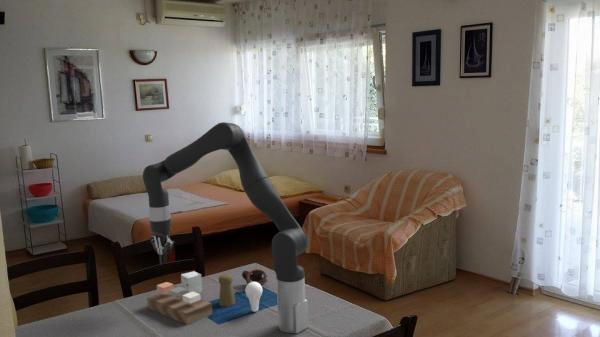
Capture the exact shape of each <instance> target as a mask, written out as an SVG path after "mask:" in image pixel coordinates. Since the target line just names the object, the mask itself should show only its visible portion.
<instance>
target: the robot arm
mask: <svg viewBox="0 0 600 337" xmlns="http://www.w3.org/2000/svg"><path fill="white" fill-rule="evenodd" d="M243 130H244V129H242V128H241V126H239V125H238V124H236V123H233V122H231V123H230V122H225V121H222V122H219V123H217V124H215V125H214V126H213V127H211V128H210V129H209V130H208V131H206V132H205V133H204V134H202V135H201V136H199V138H197V139H196V140H194V141H192V142H191V143H190V144H188V145H186V146H184V147H183V148H181V149H178V150H177V151H175V152H173V153H171V154H169V155H168V156H167V157H165V159H163V160H162V161H160V162H157V163H152V164H149V165H147V166H145V168H144V169H143V173H142V181H143V184H144V187H145V190H146V193H147V195H148V206H149V208H148V217H149V218H148V219H149V229H150V232H151V233H152V236H150V237H149V241H150V243H151V245H152V247H153V249H154V251H155V252H157V254H158V256H159V260H158V261H159V264H160V265H165V264H167V263H168V254H169V253H171V251H172V249H173V247H174V245H175V241H174V240H171V235H170V231H171V230H172V219H171V218H172V217H171V216H172V215H171V209H170V200H169V197H170V196H169V192H168V190H167V189H164V188H163V185H162V183H163V182H165V181H168V180H169V179H171V178H173V177H175V176H176V175H177V174H179V173H181V172H184V171H186V170H188V169H189V168H191V167H192V166H194V165H195V164H197V162H199V160H201V159H202V158H203V157H205V156H206V155H209V154H211V153H213V152H216V151H219V150H224V151H225V150H226V151H227V152H229V153H230V155H231V156H232V158H233V160H234V162H235V163H236V165H237V168H238V174H239V180H240V184H241V186H242V189H243V191H244V193H245V194H246V195H247V198H248V199H249V201H250V203H251V204H252V205H253V207H255V208H256V209H257V210H259V211H260V212H261V213H263V214H264V215H266V216H267V217H268V218H269V219H270V220H271V221H272V223H274V225H275V226H276V228H277V229H278V231H279V232H277V233H276V234H275V235H274V236H273V238H272V240H271V255H272V264H273V266H272V267H273V270H274V272H275V276H276V296H277V300H276V301H277V319H278V329H279V330H280V331H282V332H283V333H288V334H295V335H297V334H299V333H301V332H303V331H304V330H306V329H308V328H309V300H308V299H306V286H305V269H304V267H303V266H300V265H298V260H297V256H299V255H301V254H303V253H304V252H305V251H306V250H307V248H308V246H309V245H308V244H309V240H308V236H307V234H306V233H305V231H304V229H303V228H302V227H301V226H300V223H299V222H297V220H296V218H295V217H294V216H293V215H292V213H291V212H290V211H289V209H288V207H287V206H286V204H285V202H283V199H282V197H281V196H280V194H279V193H278V191H277V189H276V188H275V186H274V184H273V183H272V180H271V179H270V177H269V176H268V174H267V173H266V171H265V170H264V168H263V166H262V164H261V163H260V161H259V159H258V158H257V156H256V155H255V153H254V151H253V149H252V147H251V145H250V143H249V140H248V139H247V136H246V134H245V132H244V131H243Z"/></svg>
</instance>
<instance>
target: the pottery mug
mask: <svg viewBox="0 0 600 337" xmlns="http://www.w3.org/2000/svg"><path fill="white" fill-rule="evenodd" d="M241 277H242V278H243V279H244V280H245V281H246V284H247V285H248V284H249V283H251V282H258V283H259V284H260V285H261V286H262V287H263V286H264V285H265V284H266V283H268V279H267V277H268V275H267V273H266V272H265V271H264V270H262V269H259V268H255V269H254V268H253V269H251V270H250V271H248V270H243V271H242V273H241Z"/></svg>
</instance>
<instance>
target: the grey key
mask: <svg viewBox="0 0 600 337" xmlns="http://www.w3.org/2000/svg"><path fill="white" fill-rule="evenodd" d="M169 293H170V296H172V297H175V298H179V297H182V296H183V295H185V294H187V289H185V288H182V286H177V287H174V289H171V290H169Z"/></svg>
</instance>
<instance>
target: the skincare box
mask: <svg viewBox="0 0 600 337" xmlns="http://www.w3.org/2000/svg"><path fill="white" fill-rule="evenodd" d="M180 279H181V280H180V281H181V282H180V283H181V287H182V288H185V289H187V293H190V292H196V293H198V294H201V293H203V286H202V285H203V284H202V274H201V273H198V272H196V271H195V270H193V271H190V272H185V273H181V274H180Z"/></svg>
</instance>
